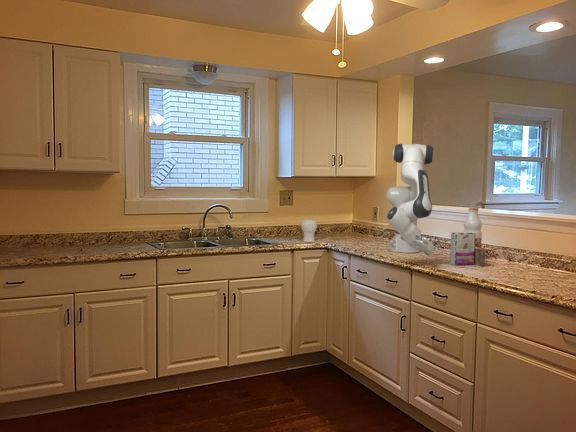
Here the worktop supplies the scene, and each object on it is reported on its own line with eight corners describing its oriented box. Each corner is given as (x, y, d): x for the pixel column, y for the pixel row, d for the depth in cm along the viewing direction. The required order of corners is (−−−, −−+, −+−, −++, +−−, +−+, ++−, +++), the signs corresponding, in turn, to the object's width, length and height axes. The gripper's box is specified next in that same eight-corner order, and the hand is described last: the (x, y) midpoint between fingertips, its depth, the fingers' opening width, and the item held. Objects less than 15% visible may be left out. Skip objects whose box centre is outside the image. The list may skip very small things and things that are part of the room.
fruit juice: (472, 257, 271) (474, 207, 269) (484, 260, 262) (486, 208, 260) (458, 258, 267) (460, 207, 265) (470, 261, 259) (472, 208, 257)
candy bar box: (468, 263, 251) (470, 231, 250) (474, 265, 246) (476, 232, 245) (449, 263, 249) (450, 232, 247) (455, 265, 244) (456, 233, 243)
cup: (302, 243, 325) (302, 220, 324) (299, 241, 336) (300, 219, 335) (317, 243, 327) (318, 220, 326) (315, 241, 337) (315, 219, 336)
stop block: (460, 260, 259) (461, 244, 258) (464, 260, 259) (464, 244, 259) (480, 266, 241) (481, 248, 241) (484, 266, 242) (485, 248, 241)
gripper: (426, 232, 231) (444, 252, 234) (406, 228, 251) (423, 247, 253) (417, 242, 230) (435, 262, 233) (398, 237, 250) (415, 255, 253)
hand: (429, 254), depth 243 cm, fingers closed
